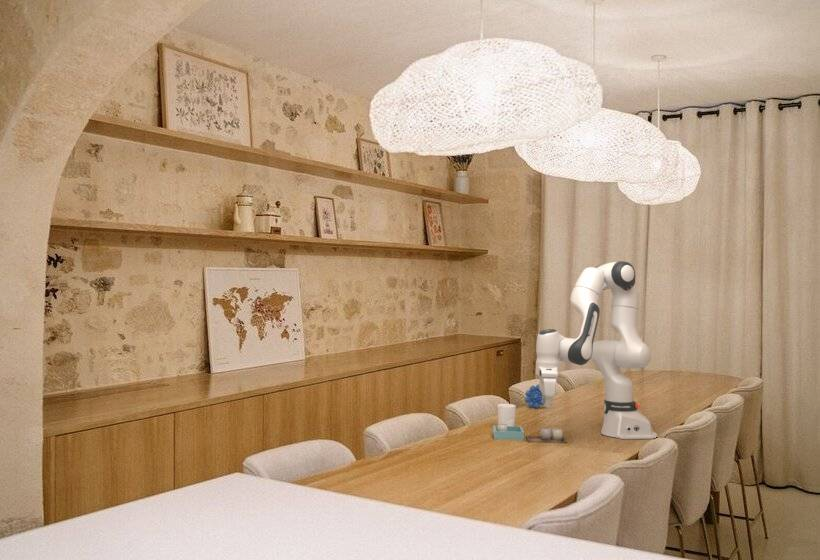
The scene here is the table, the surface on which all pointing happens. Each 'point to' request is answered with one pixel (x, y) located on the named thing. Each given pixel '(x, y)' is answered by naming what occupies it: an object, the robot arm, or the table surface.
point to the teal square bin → (509, 433)
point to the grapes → (534, 397)
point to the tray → (538, 440)
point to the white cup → (506, 414)
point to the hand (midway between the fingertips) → (546, 405)
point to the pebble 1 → (501, 427)
